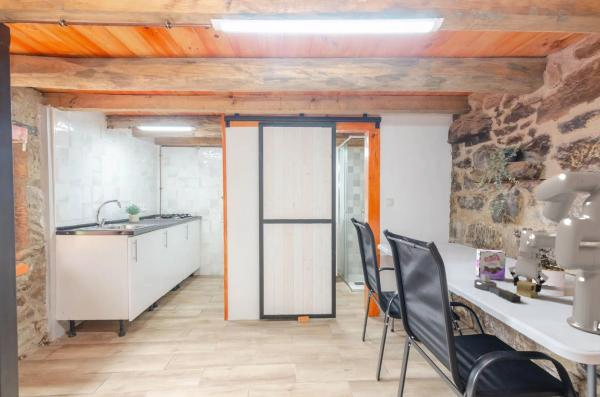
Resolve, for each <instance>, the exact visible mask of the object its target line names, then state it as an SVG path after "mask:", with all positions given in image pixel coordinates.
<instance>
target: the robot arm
mask: <svg viewBox="0 0 600 397" xmlns="http://www.w3.org/2000/svg"><path fill="white" fill-rule="evenodd" d="M579 194H580V195H581V194H586V195H587V194H588V197H586V199H585V200H584V201H583V203H582V205H581V212H580V213H581V214H580V216H568V214H569V211H570V210H571V208H572V206H573V204H574V203H575V200H576V198H577V197H578V195H579ZM535 198H536V199H537V200H538V201H540V202H545V203H544V206H543V208H542V210H541V214H542V216H543V217H544V218H546V219H547V220H550V221H552V222H554V223H556V226H555V228H554V231H553V232H539V231H537V230H533V229H523V230H521V231H520V237H519V240H520V242H519V255H517V258H516V261H515V266H511V267H508V271H509V272H510V275H511V276H512V278H513V280H512V282H513V286H514V287H517V282H519V281H520V277H522V278H529V279H534V280H535V281H536V283H537V284H536V286H535V292H538V293H540V292H541V291H542V285H543V284H545V283H546V282H547V281H548V280H549V276H548V275H546V274H544V273H543V272H542V270H543V267H542V260H541V258H542V255H541V254H540V252H539V251H540V249H546V250H547V249H548V250H554V259H555V260H554V261H555V263H556V264H557V266H559V267H560V268H561V269H563V270H568V271H569V270H570V271H578V272H576V273H575V274H576V275H575V277H574V281H573V282H574V283H573V297H572V315H571V316H570V317H567V318H566V323H567V324H568V325H569V326H571V327H573V328H576V329H577V330H580V331H584V332H587V333H592V334H595V335H600V245H592V244H581V243H600V172H597V171H595V172H594V171H562V172H560V173H557V174H555V175H553V176H551V177H550V178H547V179H545V180H544V181H542V182H541V183H540V184H538V185H537V187H536V189H535ZM567 216H568V217H567ZM541 277H542V280H541V279H540V278H541Z"/></svg>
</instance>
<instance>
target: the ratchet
mask: <svg viewBox="0 0 600 397" xmlns="http://www.w3.org/2000/svg"><path fill="white" fill-rule="evenodd" d="M474 288H476V289H477V290H481V291H486V292H489V291H490V292H489V293H492V294H493V293H494V295H495V294H496V296H498V297H500V298H502V299H504V300H505V299H506V301H508V302H510V303H521V298H522V297H521V296H522V295H519V294H516V293H514V292H512V291H510V290H506V289H503V288H500V287H499V286H498V285H497V283H496V282H495V281H491V279H490V275H488V274H481V278H479V279H474Z"/></svg>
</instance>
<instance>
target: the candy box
mask: <svg viewBox="0 0 600 397" xmlns="http://www.w3.org/2000/svg"><path fill="white" fill-rule="evenodd" d="M506 256H507V252H505V251H504V250H501V249H500V250H499V249H498V250H497V249H482V248H476V257H475V258H476V259H475V274H474V275H475V276H476V277H477V278H479V279H481V274H488V275H490V280H500V281H505V279H506V277H505V276H506V258H507V257H506Z"/></svg>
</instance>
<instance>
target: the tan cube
mask: <svg viewBox="0 0 600 397" xmlns="http://www.w3.org/2000/svg"><path fill="white" fill-rule="evenodd" d="M535 286H536V283H532V282H528V281H527V280H519V282H517V286H516V290H515V291H516V292H515V294H516V295H519V296H524V297H527V298H528V299H531V298H537V297H538V296H539V292H535Z"/></svg>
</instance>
